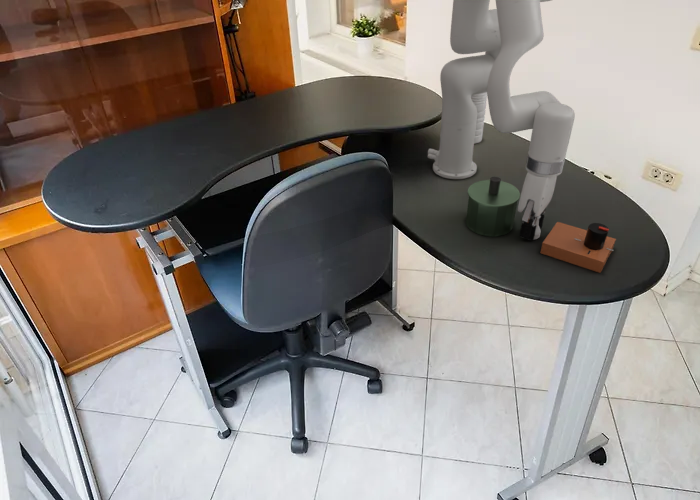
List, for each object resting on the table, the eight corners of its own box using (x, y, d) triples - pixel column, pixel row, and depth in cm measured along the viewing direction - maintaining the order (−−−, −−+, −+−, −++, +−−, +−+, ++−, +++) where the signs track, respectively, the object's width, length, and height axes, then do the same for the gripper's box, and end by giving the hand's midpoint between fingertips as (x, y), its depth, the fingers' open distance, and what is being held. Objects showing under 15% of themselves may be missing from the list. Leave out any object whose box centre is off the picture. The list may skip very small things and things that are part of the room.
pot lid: (458, 200, 119) (460, 183, 116) (480, 179, 126) (482, 162, 124) (507, 215, 113) (510, 197, 110) (527, 192, 120) (530, 174, 118)
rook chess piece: (543, 239, 117) (550, 210, 113) (525, 241, 117) (531, 213, 112) (534, 228, 121) (540, 200, 116) (517, 231, 121) (522, 202, 116)
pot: (458, 227, 124) (461, 197, 118) (477, 207, 131) (481, 178, 125) (501, 242, 118) (506, 211, 113) (519, 219, 125) (525, 190, 120)
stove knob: (581, 246, 110) (586, 228, 107) (586, 237, 113) (591, 219, 110) (600, 252, 108) (606, 234, 106) (605, 243, 111) (611, 225, 108)
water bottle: (469, 145, 159) (478, 65, 144) (457, 138, 164) (464, 60, 149) (491, 139, 162) (502, 60, 147) (478, 132, 167) (487, 55, 152)
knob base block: (540, 253, 114) (542, 242, 112) (554, 231, 120) (557, 220, 118) (603, 274, 107) (607, 262, 105) (615, 250, 114) (619, 239, 112)
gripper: (541, 144, 115) (527, 211, 126) (512, 174, 104) (501, 245, 115) (575, 151, 111) (558, 220, 122) (549, 184, 100) (533, 256, 111)
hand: (530, 232), depth 118 cm, fingers closed on rook chess piece, 4 cm apart
